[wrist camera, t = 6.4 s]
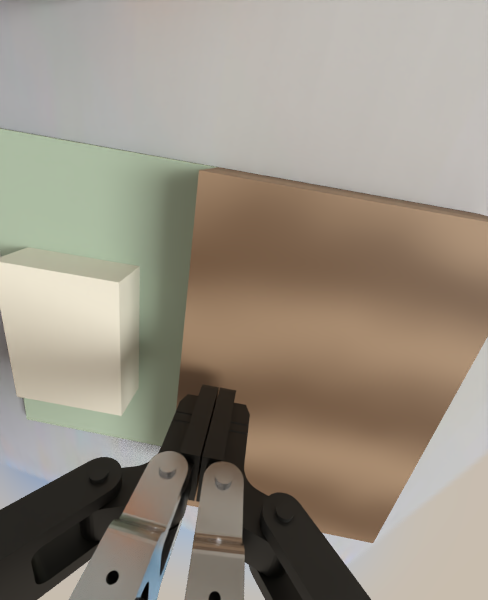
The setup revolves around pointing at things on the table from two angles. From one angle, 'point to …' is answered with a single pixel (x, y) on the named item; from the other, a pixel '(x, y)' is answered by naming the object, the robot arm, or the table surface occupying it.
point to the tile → (71, 328)
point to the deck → (332, 333)
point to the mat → (109, 253)
